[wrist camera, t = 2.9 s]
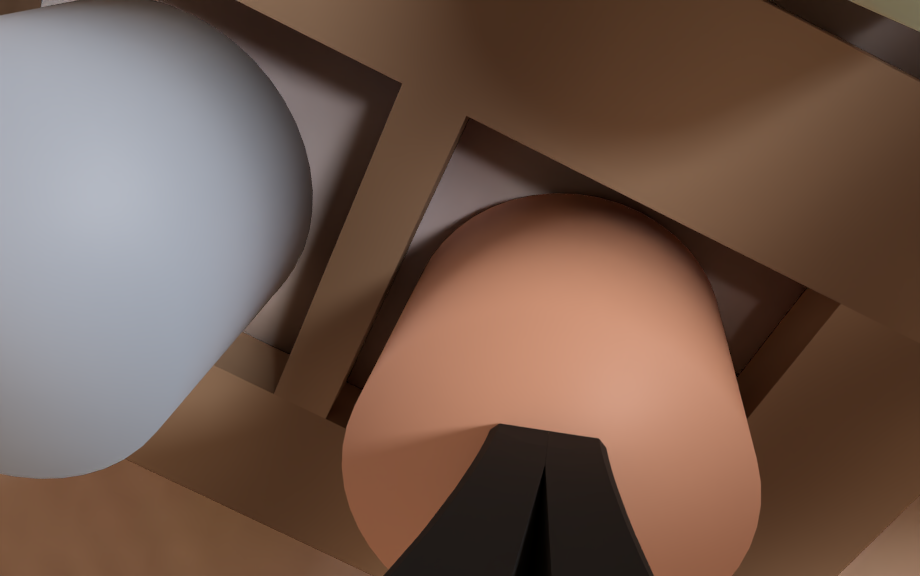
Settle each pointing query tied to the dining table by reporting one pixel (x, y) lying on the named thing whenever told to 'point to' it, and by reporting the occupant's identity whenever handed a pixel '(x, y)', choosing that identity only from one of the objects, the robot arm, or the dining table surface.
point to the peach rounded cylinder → (562, 379)
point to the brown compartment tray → (646, 181)
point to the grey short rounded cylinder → (131, 222)
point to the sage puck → (895, 10)
